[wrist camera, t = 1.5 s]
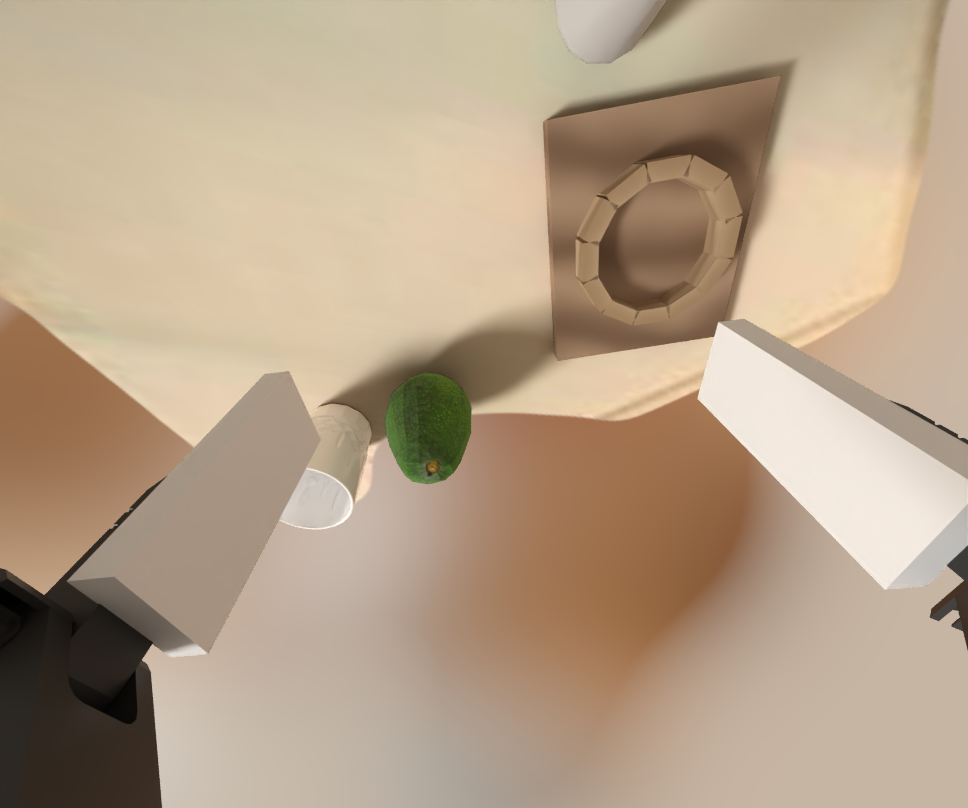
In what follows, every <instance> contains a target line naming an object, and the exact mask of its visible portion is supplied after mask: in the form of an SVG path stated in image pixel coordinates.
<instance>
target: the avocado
mask: <svg viewBox="0 0 968 808" xmlns="http://www.w3.org/2000/svg"><path fill="white" fill-rule="evenodd" d="M385 426H386V434H387V438H388V442H389V445H390V448H391V450H392V452H393V454H394V457H395V458H396V461H397V463H398V465H399V467H400V468H401V470H402V471H403V473H404V474H405V476H406V477H408V478H409V479H410V480H412V481H413V482H418V483H424V484H432V483H435V482H439V481H443V480H446V479H447V478H448V477H449V476H450V475H451V474H453V473H454V471H455V470H456V468H457V467H458V465H459V464H460V462H461V460H462V457H463V454H464V451H465V449H466V446H467V443H468V440H469V437H470V434H471V405H470V403H469V401H468V398H467V396H466V394H465V392H464V390H463V389H462V388H461V387H460V386H459V385H458V384H457V383H456V382H455V381H453V380H452V379H450V378H448V377H445V376H443V375H440V374H433V373H422V374H419V375H416V376H413V377H411V378H409V379H408V380H407V381H405V382H404V383H403V384H402V385H400V386H399V387H398V388H397V389H396V390H395V391H394V392H393V393H392V395H391V397H390V401H389V404H388V408H387V413H386V418H385Z"/></svg>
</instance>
